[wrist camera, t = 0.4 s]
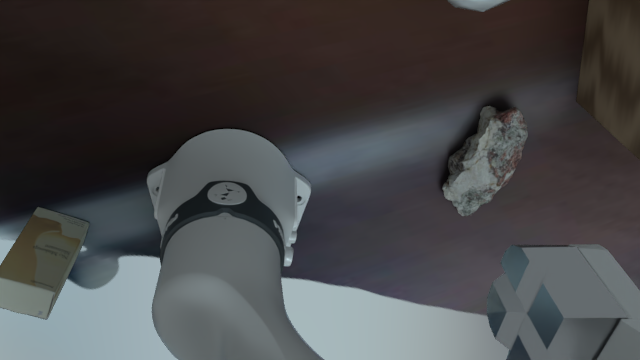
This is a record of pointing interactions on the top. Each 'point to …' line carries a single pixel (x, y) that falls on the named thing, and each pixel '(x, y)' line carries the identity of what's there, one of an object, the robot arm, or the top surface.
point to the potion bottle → (476, 4)
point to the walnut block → (613, 69)
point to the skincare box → (40, 262)
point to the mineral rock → (486, 159)
